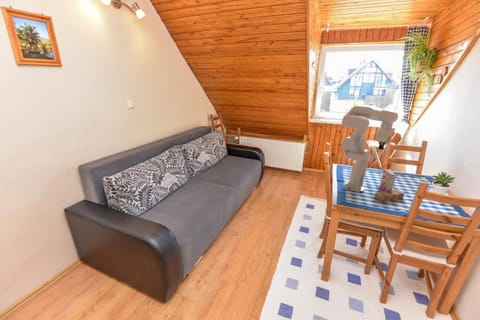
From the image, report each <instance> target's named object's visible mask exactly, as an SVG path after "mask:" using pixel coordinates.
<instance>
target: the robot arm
mask: <svg viewBox="0 0 480 320" xmlns="http://www.w3.org/2000/svg"><path fill="white" fill-rule="evenodd" d="M398 118H399V114H398V113H397V112H396V111H394V110H387V109H385V108H379V107H374V106H371V105H364V104H363V105H362V104H361V105H360V104H357V105H355V106H353V107H351V109H349V111H348V112H347V113H346V114H345V115H344V116H343V117H342V119H341V125H342V126H343V127H344V128H347V129H352V130H353V129H354V131H353V132H352V133H351V134H350V136H346V137H344V138H343V140H342V142H341V149H342V151H343V154H344V156H345V157H346V158H347V159H350V160H352V161H355V163H353V164H352V165H351V170H350V175H349V179H348V181H347V182H346V183H342V186H343V187H345V188H346V189H347V190H349V191H352V192H356V193H360V192H364V191H365V188H364V187H363V184H364V180H365V176H366V171H367V167H368V164H369V162H370V159H371V157H372V154H371V152H370V150H367V144H366V140H365V135H366V132H367V130H368V128H369V126H370V120H371V121H377V122H380V123H381V124H380V126H379V128H378V129H377V133H376V136H375V139H376V141H377V142H378V150H379V151H383V150H384V148H385V146H386V145H389V142H390V141H391V139H392V132H393V130H392V128H393V125H394V123H395V122H397V120H398Z"/></svg>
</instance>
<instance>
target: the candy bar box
mask: <svg viewBox="0 0 480 320" xmlns="http://www.w3.org/2000/svg"><path fill="white" fill-rule="evenodd" d="M382 171H383V172H382V175H381V179H380V182H379V187H378V189H379V190H380V192H383V191H389V190H393V188H394V184H395V181H396V177H397V174H395V172H393V171H392V169H388V168H384V169H383V170H382Z"/></svg>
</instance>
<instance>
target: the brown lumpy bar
mask: <svg viewBox="0 0 480 320" xmlns="http://www.w3.org/2000/svg"><path fill="white" fill-rule="evenodd" d="M405 194H406V193H405V192H404V191H401V190H399V189H398V188H397V189H392V190H389V191H383V192H381V191H377V192H375V193H374V197H373V198H374V200H376V201H377V200H378V202H379V203H382V202H383V203H388V202H393V201H399V200H403V199H404V198H405Z"/></svg>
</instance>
